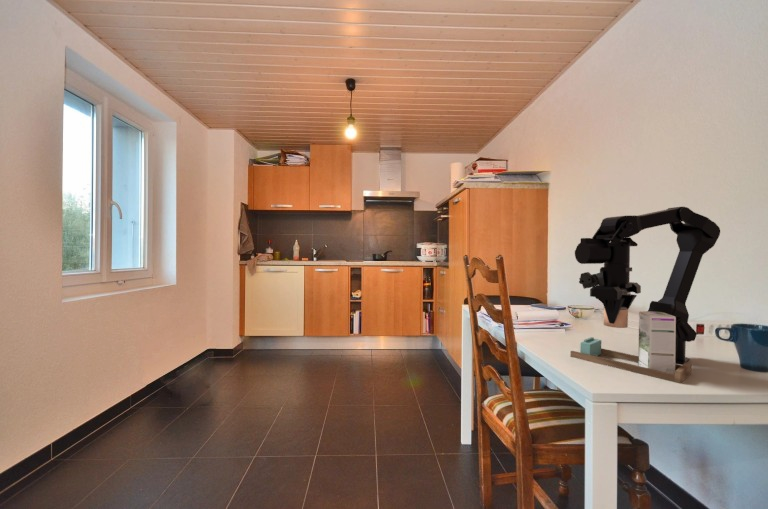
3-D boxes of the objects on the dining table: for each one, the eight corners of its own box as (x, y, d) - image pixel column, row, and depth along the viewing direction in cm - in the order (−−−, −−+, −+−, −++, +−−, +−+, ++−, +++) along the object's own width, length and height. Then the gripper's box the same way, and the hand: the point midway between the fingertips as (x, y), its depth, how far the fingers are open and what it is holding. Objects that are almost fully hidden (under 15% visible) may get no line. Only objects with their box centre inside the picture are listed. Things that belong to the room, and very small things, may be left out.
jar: (630, 325, 93) (631, 306, 93) (623, 328, 90) (623, 309, 90) (607, 322, 98) (608, 304, 97) (600, 325, 94) (600, 306, 94)
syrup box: (676, 376, 84) (678, 316, 83) (648, 374, 85) (649, 314, 85) (662, 368, 89) (664, 311, 89) (636, 366, 90) (638, 310, 90)
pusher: (592, 351, 102) (592, 336, 102) (601, 353, 100) (601, 337, 100) (580, 356, 97) (580, 340, 97) (589, 359, 95) (589, 342, 95)
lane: (586, 350, 104) (586, 341, 104) (691, 373, 86) (691, 363, 86) (570, 356, 98) (570, 347, 98) (680, 383, 79) (680, 372, 79)
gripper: (597, 261, 105) (596, 313, 106) (569, 263, 94) (568, 321, 94) (641, 262, 97) (640, 319, 97) (616, 265, 85) (616, 329, 85)
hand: (615, 321), depth 94 cm, fingers closed on jar, 5 cm apart
